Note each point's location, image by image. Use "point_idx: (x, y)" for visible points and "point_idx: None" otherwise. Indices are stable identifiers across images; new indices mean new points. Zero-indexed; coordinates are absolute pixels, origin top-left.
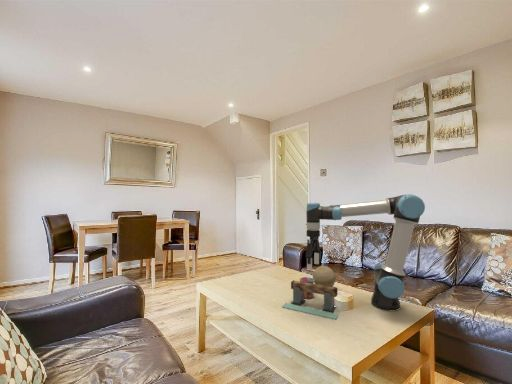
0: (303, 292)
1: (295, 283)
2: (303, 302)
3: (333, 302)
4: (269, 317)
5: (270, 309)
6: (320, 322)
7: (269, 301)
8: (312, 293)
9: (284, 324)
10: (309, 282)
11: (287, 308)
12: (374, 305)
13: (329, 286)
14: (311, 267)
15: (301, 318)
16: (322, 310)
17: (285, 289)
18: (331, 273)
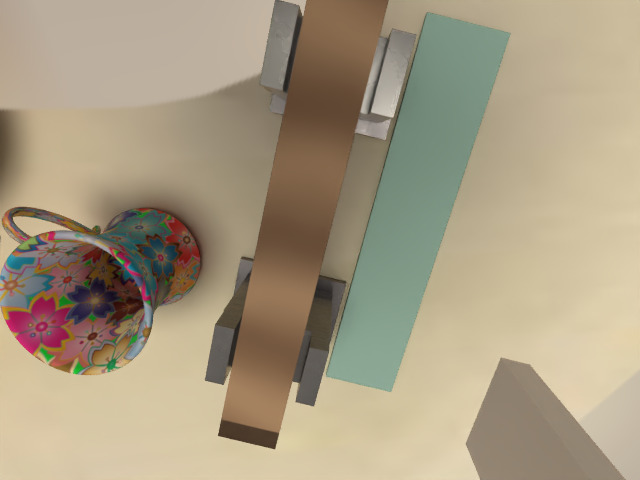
0: (242, 296)
1: (285, 406)
2: None
3: None
4: None
5: (432, 440)
6: (563, 143)
7: (319, 462)
8: (149, 222)
9: (614, 346)
10: (142, 276)
11: (401, 356)
12: None
13: (299, 50)
14: (555, 403)
15: (523, 263)
16: (385, 135)
17: (86, 402)
18: None
